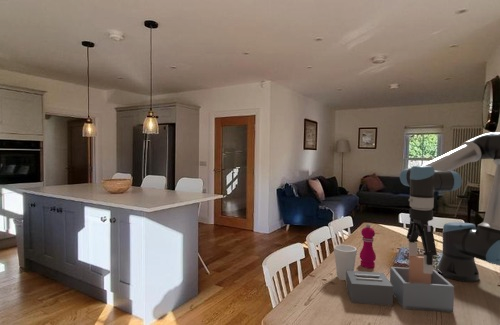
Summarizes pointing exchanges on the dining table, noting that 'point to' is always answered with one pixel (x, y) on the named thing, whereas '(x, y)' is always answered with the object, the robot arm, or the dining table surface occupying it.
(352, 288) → the dispenser
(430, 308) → the bin
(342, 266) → the foam cup
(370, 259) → the pepper mill
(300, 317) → the dining table surface
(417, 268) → the terracotta flat slab
